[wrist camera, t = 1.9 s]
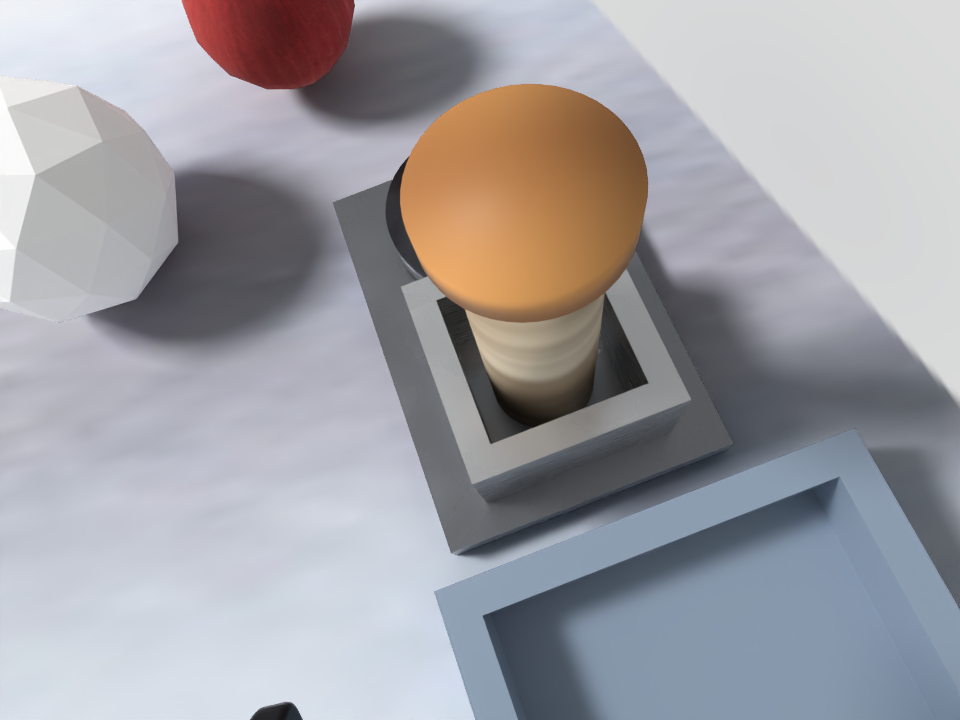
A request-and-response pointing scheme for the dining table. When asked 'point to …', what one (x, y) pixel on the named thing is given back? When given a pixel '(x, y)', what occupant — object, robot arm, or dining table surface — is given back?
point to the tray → (722, 608)
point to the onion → (272, 37)
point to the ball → (77, 202)
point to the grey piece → (482, 422)
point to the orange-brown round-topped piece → (528, 233)
